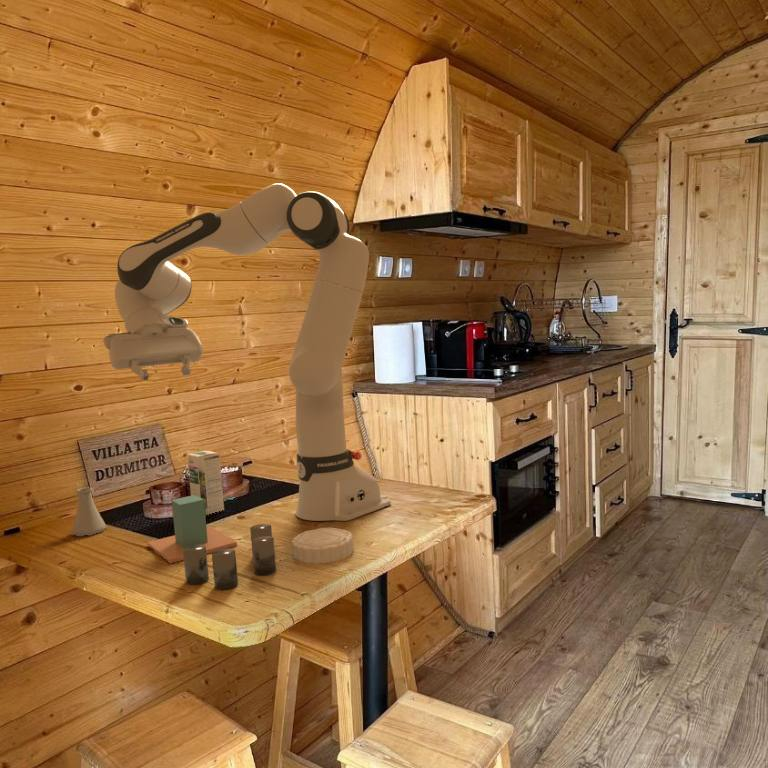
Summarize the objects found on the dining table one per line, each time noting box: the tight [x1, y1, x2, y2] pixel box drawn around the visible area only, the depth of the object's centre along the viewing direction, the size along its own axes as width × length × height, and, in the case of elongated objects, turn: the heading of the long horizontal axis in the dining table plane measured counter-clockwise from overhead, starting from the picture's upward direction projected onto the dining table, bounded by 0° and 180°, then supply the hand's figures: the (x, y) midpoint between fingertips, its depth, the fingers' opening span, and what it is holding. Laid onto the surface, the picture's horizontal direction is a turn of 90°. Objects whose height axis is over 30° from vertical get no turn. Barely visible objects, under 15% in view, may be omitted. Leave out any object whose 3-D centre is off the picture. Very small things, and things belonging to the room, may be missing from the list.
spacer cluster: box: [183, 523, 277, 591], centre depth 129 cm, size 18×12×6 cm, turn 126°
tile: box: [146, 526, 238, 564], centre depth 145 cm, size 14×14×1 cm
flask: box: [70, 487, 108, 537], centre depth 159 cm, size 7×7×10 cm
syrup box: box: [187, 450, 225, 517], centre depth 168 cm, size 6×6×14 cm
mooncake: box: [291, 526, 355, 565], centre depth 137 cm, size 12×12×4 cm
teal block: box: [171, 495, 208, 548], centre depth 145 cm, size 5×5×9 cm
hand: (166, 375), depth 155 cm, fingers open, 8 cm apart
